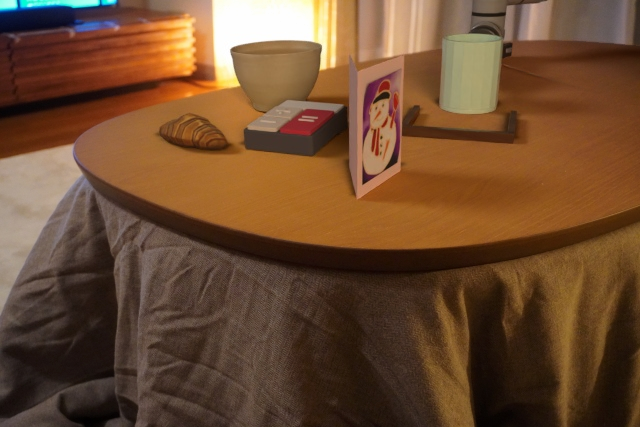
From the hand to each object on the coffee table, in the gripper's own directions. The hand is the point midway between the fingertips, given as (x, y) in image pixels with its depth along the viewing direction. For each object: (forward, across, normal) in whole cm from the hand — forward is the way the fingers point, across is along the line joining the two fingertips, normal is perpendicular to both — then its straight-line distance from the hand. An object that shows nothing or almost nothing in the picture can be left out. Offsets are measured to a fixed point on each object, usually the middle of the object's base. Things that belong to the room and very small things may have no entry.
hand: (472, 62), depth 112 cm
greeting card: (+45, +9, -7) cm, 47 cm away
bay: (+19, 0, -7) cm, 20 cm away
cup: (+5, 0, -7) cm, 9 cm away
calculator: (+30, +23, -7) cm, 39 cm away
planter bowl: (+13, +33, -7) cm, 36 cm away
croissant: (+38, +37, -7) cm, 53 cm away
